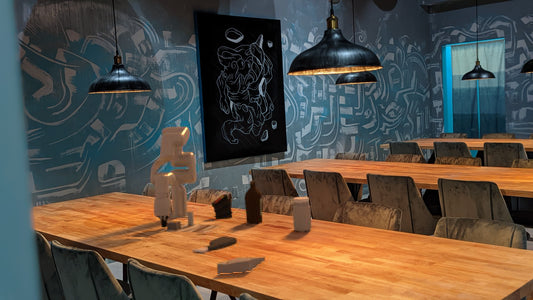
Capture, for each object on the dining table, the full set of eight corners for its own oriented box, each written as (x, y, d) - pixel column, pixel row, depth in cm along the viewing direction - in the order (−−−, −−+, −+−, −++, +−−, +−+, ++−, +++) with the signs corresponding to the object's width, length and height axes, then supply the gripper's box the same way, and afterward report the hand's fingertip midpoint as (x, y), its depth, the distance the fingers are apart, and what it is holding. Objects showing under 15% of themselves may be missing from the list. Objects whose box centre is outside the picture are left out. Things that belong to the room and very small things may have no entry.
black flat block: (236, 214, 351) (227, 194, 346) (221, 225, 344) (211, 206, 339) (233, 213, 354) (223, 193, 349) (218, 225, 347) (208, 205, 342)
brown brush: (238, 243, 280) (207, 255, 260) (222, 241, 287) (190, 253, 267) (238, 237, 280) (207, 249, 260) (222, 235, 286) (189, 247, 266)
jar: (310, 232, 297) (308, 199, 296) (292, 232, 299) (291, 199, 298) (312, 228, 306) (311, 196, 305) (295, 228, 308) (293, 196, 307)
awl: (186, 225, 323) (186, 212, 323) (189, 224, 326) (188, 211, 326) (192, 226, 322) (191, 212, 321) (194, 224, 325) (194, 211, 325)
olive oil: (245, 224, 325) (243, 182, 323) (245, 220, 336) (243, 180, 334) (263, 223, 326) (261, 181, 324) (263, 220, 336) (261, 179, 334)
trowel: (251, 258, 251) (251, 246, 250) (277, 263, 240) (277, 251, 240) (205, 273, 230) (205, 260, 230) (232, 280, 220) (231, 266, 219)
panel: (161, 233, 312) (161, 231, 312) (178, 225, 330) (178, 223, 330) (205, 234, 302) (205, 232, 302) (220, 227, 321) (220, 225, 321)
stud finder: (167, 229, 314) (166, 221, 314) (171, 227, 319) (171, 220, 319) (176, 230, 312) (176, 222, 312) (180, 228, 317) (180, 220, 317)
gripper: (147, 196, 315) (149, 228, 317) (170, 196, 310) (172, 228, 312) (154, 194, 323) (156, 225, 324) (177, 194, 317) (179, 226, 319)
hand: (164, 227), depth 318 cm, fingers closed
